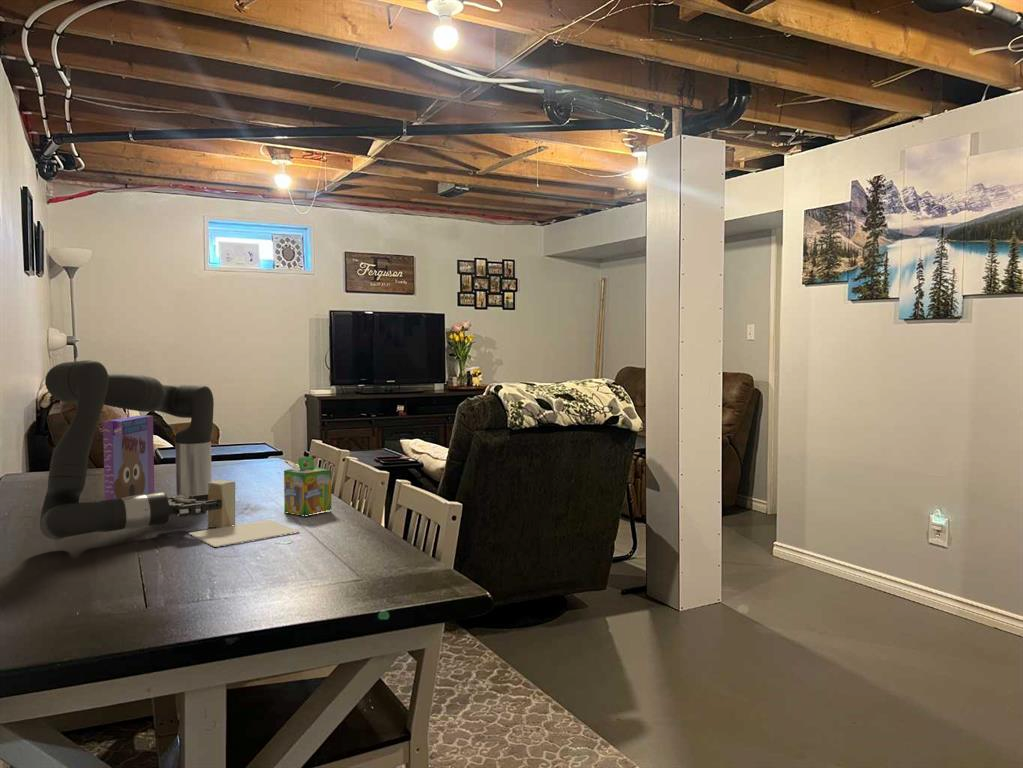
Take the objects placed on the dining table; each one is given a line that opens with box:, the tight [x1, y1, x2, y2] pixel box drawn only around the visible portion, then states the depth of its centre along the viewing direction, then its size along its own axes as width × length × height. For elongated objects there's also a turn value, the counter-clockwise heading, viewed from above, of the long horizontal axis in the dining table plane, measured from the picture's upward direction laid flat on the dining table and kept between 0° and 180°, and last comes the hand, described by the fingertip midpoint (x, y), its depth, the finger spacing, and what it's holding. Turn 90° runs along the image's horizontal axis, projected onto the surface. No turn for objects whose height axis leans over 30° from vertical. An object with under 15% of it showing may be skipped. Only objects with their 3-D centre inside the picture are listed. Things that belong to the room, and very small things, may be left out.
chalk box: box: [283, 455, 332, 517], centre depth 197 cm, size 9×9×15 cm
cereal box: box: [102, 414, 155, 500], centre depth 210 cm, size 17×5×24 cm, turn 179°
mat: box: [188, 519, 300, 548], centre depth 175 cm, size 16×20×1 cm
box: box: [207, 479, 236, 529], centre depth 182 cm, size 5×4×11 cm
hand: (214, 500), depth 181 cm, fingers open, 8 cm apart
